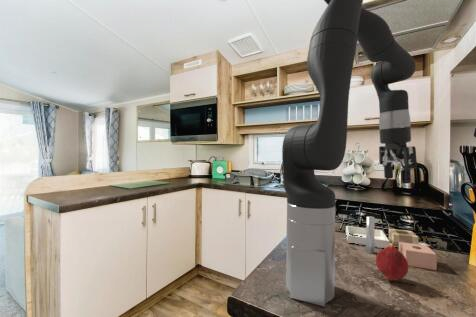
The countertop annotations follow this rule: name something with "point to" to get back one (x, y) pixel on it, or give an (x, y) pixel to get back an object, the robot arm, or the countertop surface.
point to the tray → (379, 237)
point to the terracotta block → (419, 255)
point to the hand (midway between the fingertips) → (396, 180)
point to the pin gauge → (370, 234)
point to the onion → (392, 263)
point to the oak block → (402, 237)
